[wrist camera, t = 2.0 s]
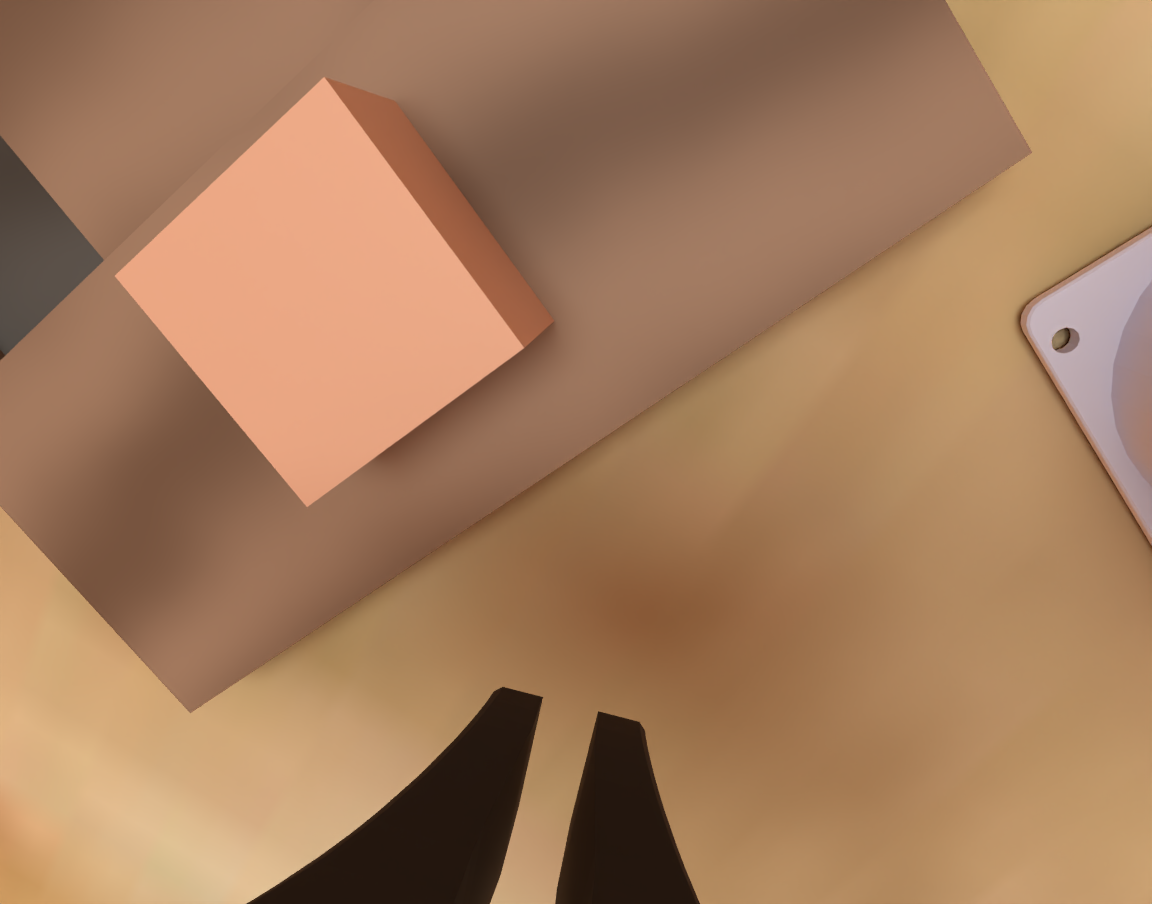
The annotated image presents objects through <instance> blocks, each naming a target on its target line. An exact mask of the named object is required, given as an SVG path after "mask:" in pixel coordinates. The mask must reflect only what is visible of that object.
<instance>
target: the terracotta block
mask: <svg viewBox="0 0 1152 904" xmlns="http://www.w3.org/2000/svg"><path fill="white" fill-rule="evenodd" d="M115 277H116V278H117V279H118V281H119V282H120V283H121V284H122V285H123V287H124V288H125V289H126V290H127V291H128V293H129V294H130V295H131V296H132V297H133V299H134V300H135V301H136V302H137V303H138V305H139V306H140V307H141V308H142V309H143V311H144V312H145V313H146V314H147V315H148V317H149V318H150V319H151V320H152V321H153V323H154V324H155V325H156V326H157V327H158V329H159V330H160V331H161V332H162V333H163V335H164V336H165V337H166V338H167V340H168V341H169V342H170V343H171V344H172V346H173V347H174V348H175V349H176V350H177V352H178V353H179V354H180V355H181V356H182V358H183V359H184V360H185V361H186V362H187V364H188V365H189V366H190V367H191V368H192V370H193V371H194V372H195V373H196V374H197V376H198V377H199V378H200V379H201V380H202V382H203V383H204V384H205V385H206V386H207V388H208V389H209V390H210V391H211V392H212V394H213V395H214V396H215V397H216V398H217V400H218V401H219V402H220V403H221V404H222V406H223V407H224V408H225V409H226V410H227V412H228V413H229V414H230V415H231V416H232V418H233V419H234V420H235V421H236V422H237V424H238V425H239V426H240V427H241V428H242V430H243V431H244V432H245V433H246V434H247V436H248V437H249V438H250V439H251V440H252V442H253V443H254V444H255V445H256V446H257V448H258V449H259V450H260V451H261V452H262V454H263V455H264V456H265V457H266V458H267V460H268V461H269V462H270V463H271V464H272V466H273V467H274V468H275V469H276V470H277V472H278V473H279V474H280V475H281V476H282V478H283V479H284V480H285V481H286V482H287V484H288V485H289V486H290V487H291V488H292V490H293V491H294V492H295V493H296V495H297V496H298V497H299V498H300V499H301V501H302V502H303V503H304V504H305V505H306V507H308V506H309V505H311V504H312V503H314V502H315V501H316V500H318V499H319V498H320V497H322V496H323V495H324V494H326V493H327V492H329V491H330V490H331V489H333V488H334V487H335V486H337V485H338V484H339V483H341V482H342V481H344V480H345V479H346V478H348V477H349V476H350V475H352V474H353V473H354V472H356V471H357V470H359V469H360V468H361V467H363V466H364V465H365V464H367V463H368V462H369V461H371V460H372V459H374V458H375V457H376V456H378V455H379V454H380V453H382V452H383V451H385V450H386V449H387V448H389V447H390V446H391V445H393V444H394V443H395V442H397V441H398V440H400V439H401V438H402V437H404V436H405V435H406V434H408V433H409V432H410V431H412V430H413V429H415V428H416V427H417V426H419V425H420V424H421V423H423V422H424V421H425V420H427V419H428V418H430V417H431V416H432V415H434V414H435V413H436V412H438V411H439V410H440V409H442V408H443V407H445V406H446V405H447V404H449V403H450V402H451V401H453V400H454V399H455V398H457V397H458V396H460V395H461V394H462V393H464V392H465V391H466V390H468V389H469V388H470V387H472V386H473V385H475V384H476V383H477V382H479V381H480V380H481V379H483V378H484V377H486V376H487V375H488V374H490V373H491V372H492V371H494V370H495V369H496V368H498V367H499V366H501V365H502V364H503V363H505V362H506V361H507V360H509V359H510V358H511V357H513V356H514V355H516V354H517V353H518V352H520V351H521V350H522V349H524V348H525V347H526V346H527V345H528V344H529V343H530V342H532V341H533V340H534V339H535V338H536V337H537V336H538V335H539V334H540V333H541V332H543V331H544V330H545V329H546V328H547V327H548V326H549V325H550V324H551V323H553V322H554V320H553V318H552V317H551V316H550V314H549V313H548V311H547V310H546V309H545V307H544V306H543V304H542V303H541V302H540V300H539V299H538V298H537V296H536V295H535V293H534V292H533V291H532V289H531V288H530V287H529V285H528V284H527V282H526V281H525V280H524V278H523V277H522V276H521V274H520V273H519V271H518V270H517V269H516V267H515V266H514V264H513V263H512V262H511V260H510V259H509V258H508V256H507V255H506V253H505V252H504V251H503V249H502V248H501V247H500V245H499V244H498V242H497V241H496V240H495V238H494V237H493V236H492V234H491V233H490V231H489V230H488V229H487V227H486V226H485V224H484V223H483V222H482V220H481V219H480V218H479V216H478V215H477V213H476V212H475V211H474V209H473V208H472V207H471V205H470V204H469V202H468V201H467V200H466V198H465V197H464V195H463V194H462V193H461V191H460V190H459V189H458V187H457V186H456V184H455V183H454V182H453V180H452V179H451V178H450V176H449V175H448V173H447V172H446V171H445V169H444V168H443V167H442V165H441V164H440V162H439V161H438V160H437V158H436V157H435V155H434V154H433V153H432V151H431V150H430V149H429V147H428V146H427V144H426V143H425V142H424V140H423V139H422V138H421V136H420V135H419V133H418V132H417V131H416V129H415V128H414V127H413V125H412V124H411V122H410V121H409V120H408V118H407V117H406V115H405V114H404V113H403V111H402V110H401V109H400V107H399V106H398V104H397V103H396V102H395V101H394V100H391V99H388V98H385V97H382V96H379V95H376V94H373V93H370V92H367V91H364V90H361V89H358V88H355V87H353V86H350V85H347V84H344V83H341V82H338V81H335V80H332V79H329V78H326V77H324V78H322V79H321V80H320V81H319V82H318V83H317V84H316V85H315V86H314V87H313V88H312V89H311V90H310V91H309V92H308V93H307V94H306V95H305V96H304V97H302V98H301V99H300V100H299V101H298V102H297V103H296V104H295V105H294V106H293V107H292V108H291V109H290V110H289V111H288V112H287V113H286V114H285V115H284V116H282V117H281V118H280V119H279V120H278V121H277V122H276V123H275V124H274V125H273V126H272V127H271V128H270V129H269V130H268V131H267V132H266V133H265V134H263V135H262V136H261V137H260V138H259V139H258V140H257V141H256V142H255V143H254V144H253V145H252V146H251V147H250V148H249V149H248V150H247V151H246V152H245V153H243V154H242V155H241V156H240V157H239V158H238V159H237V160H236V161H235V162H234V163H233V164H232V165H231V166H230V167H229V168H228V169H227V170H226V171H225V172H223V173H222V174H221V175H220V176H219V177H218V178H217V179H216V180H215V181H214V182H213V183H212V184H211V185H210V186H209V187H208V188H207V189H206V190H205V191H203V192H202V193H201V194H200V195H199V196H198V197H197V198H196V199H195V200H194V201H193V202H192V203H191V204H190V205H189V206H188V207H187V208H186V209H184V210H183V211H182V212H181V213H180V214H179V215H178V216H177V217H176V218H175V219H174V220H173V221H172V222H171V223H170V224H169V225H168V226H167V227H166V228H164V229H163V230H162V231H161V232H160V233H159V234H158V235H157V236H156V237H155V238H154V239H153V240H152V241H151V242H150V243H149V244H148V245H147V246H146V247H144V248H143V249H142V250H141V251H140V252H139V253H138V254H137V255H136V256H135V257H134V258H133V259H132V260H131V261H130V262H129V263H128V264H127V265H126V266H124V267H123V268H122V269H121V270H120V271H119V272H118V273H117V274H116V275H115Z"/></svg>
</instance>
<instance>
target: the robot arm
mask: <svg viewBox="0 0 1152 904" xmlns="http://www.w3.org/2000/svg"><path fill="white" fill-rule="evenodd" d="M1020 324H1021V327H1022V330H1023V332H1024V334H1025V336H1026V337H1027V339H1028V341H1029V342H1030V344H1031V346H1032V347H1033V349H1034V351H1035V352H1036V354H1037V356H1038V357H1039V359H1040V361H1041V362H1042V364H1043V366H1044V367H1045V369H1046V371H1047V372H1048V374H1049V376H1050V377H1051V379H1052V381H1053V382H1054V384H1055V386H1056V387H1057V389H1058V391H1059V392H1060V394H1061V396H1062V397H1063V399H1064V401H1065V402H1066V404H1067V406H1068V407H1069V409H1070V411H1071V412H1072V414H1073V416H1074V417H1075V419H1076V421H1077V422H1078V424H1079V426H1080V427H1081V429H1082V431H1083V432H1084V434H1085V436H1086V437H1087V439H1088V441H1089V442H1090V444H1091V446H1092V447H1093V449H1094V451H1095V452H1096V454H1097V456H1098V457H1099V459H1100V461H1101V462H1102V464H1103V466H1104V467H1105V469H1106V471H1107V472H1108V474H1109V476H1110V477H1111V479H1112V480H1113V482H1114V484H1115V485H1116V487H1117V489H1118V490H1119V492H1120V494H1121V495H1122V497H1123V499H1124V500H1125V502H1126V504H1127V505H1128V507H1129V509H1130V510H1131V512H1132V514H1133V515H1134V517H1135V519H1136V520H1137V522H1138V524H1139V525H1140V527H1141V529H1142V530H1143V532H1144V534H1145V535H1146V537H1147V539H1148V540H1149V542H1150V544H1151V545H1152V227H1151V228H1149V229H1147V230H1146V231H1144V232H1143V233H1141V234H1139V235H1138V236H1136V237H1134V238H1133V239H1131V240H1129V241H1128V242H1126V243H1124V244H1123V245H1121V246H1120V247H1118V248H1116V249H1115V250H1113V251H1111V252H1110V253H1108V254H1106V255H1105V256H1103V257H1102V258H1100V259H1098V260H1097V261H1095V262H1093V263H1092V264H1090V265H1088V266H1087V267H1085V268H1083V269H1082V270H1080V271H1079V272H1077V273H1075V274H1074V275H1072V276H1070V277H1069V278H1067V279H1065V280H1064V281H1062V282H1061V283H1059V284H1057V285H1056V286H1054V287H1052V288H1051V289H1049V290H1047V291H1046V292H1044V293H1042V294H1041V295H1039V296H1038V297H1036V298H1034V299H1033V300H1032V301H1031V302H1030V303H1029V304H1027V305H1026V307H1025V309H1024V311H1023V313H1022V315H1021V323H1020ZM1066 327H1067V328H1068V329H1069V330H1070V335H1071V337H1070V340H1069V343H1068V344H1067V345H1065V346H1064V347H1063V348H1061V349H1058V350H1054V349H1053V347H1052V343H1051V341H1052V338H1053V335H1054V334H1055V333H1056V332H1057V331H1058V330H1060V329H1063V328H1066ZM542 698H543V697H540V696H536V695H532V694H528V693H524V692H520V691H517V690H513V689H509V688H505V687H502V688H500V689H498V690H496V691H494V692H493V694H492V695H491V696H490V698H489V699H488V701H487V702H486V703H485V705H484V706H483V707H482V709H481V710H480V711H479V712H478V714H477V715H476V716H475V717H474V718H473V720H472V721H471V722H470V723H469V724H468V725H467V727H466V728H465V729H464V730H463V731H462V732H461V733H460V734H459V735H458V737H457V738H456V739H455V740H454V741H453V742H452V743H451V744H450V745H449V746H448V747H447V748H446V749H445V750H444V751H443V752H442V753H441V754H440V755H439V756H438V757H437V758H436V759H435V760H434V761H433V762H432V763H431V764H430V765H429V766H428V767H427V768H426V769H425V770H424V771H423V772H422V773H421V774H420V775H419V776H418V777H417V778H416V779H415V780H413V781H412V782H411V783H410V784H409V785H408V786H407V787H406V788H404V789H403V790H402V791H401V792H400V793H399V794H398V795H397V796H395V797H394V798H393V799H392V800H391V801H390V802H389V803H388V804H386V805H385V806H384V807H383V808H382V809H381V810H380V811H378V812H377V813H376V814H375V815H373V816H372V817H371V818H370V819H369V820H367V821H366V822H365V823H364V824H362V825H361V826H360V827H359V828H357V829H356V830H355V831H353V832H352V833H351V834H350V835H348V836H347V837H346V838H344V839H343V840H341V841H340V842H339V843H337V844H336V845H335V846H333V847H332V848H331V849H329V850H328V851H327V852H325V853H324V854H322V855H321V856H320V857H318V858H317V859H315V860H314V861H312V862H311V863H309V864H308V865H306V866H305V867H303V868H302V869H300V870H299V871H297V872H296V873H294V874H293V875H291V876H290V877H288V878H287V879H285V880H284V881H282V882H281V883H279V884H278V885H276V886H275V887H273V888H271V889H270V890H268V891H267V892H265V893H263V894H262V895H260V896H259V897H257V898H255V899H254V900H252V901H250V902H249V903H247V904H490V902H491V899H492V896H493V894H494V891H495V888H496V885H497V883H498V880H499V877H500V875H501V871H502V867H503V863H504V860H505V856H506V852H507V848H508V845H509V841H510V837H511V833H512V830H513V826H514V822H515V818H516V814H517V811H518V807H519V802H520V798H521V793H522V789H523V784H524V780H525V775H526V771H527V766H528V762H529V757H530V753H531V748H532V744H533V739H534V735H535V730H536V725H537V721H538V716H539V712H540V707H541V703H542ZM555 904H700V903H699V901H698V898H697V896H696V893H695V891H694V889H693V886H692V884H691V881H690V879H689V877H688V874H687V872H686V869H685V867H684V864H683V861H682V859H681V856H680V854H679V851H678V848H677V846H676V843H675V840H674V837H673V834H672V831H671V828H670V825H669V822H668V820H667V817H666V814H665V811H664V808H663V804H662V801H661V798H660V795H659V791H658V788H657V784H656V780H655V777H654V773H653V769H652V765H651V761H650V757H649V752H648V747H647V742H646V736H645V730H644V729H643V727H642V725H641V724H640V722H637V721H633V720H629V719H625V718H622V717H618V716H614V715H610V714H606V713H602V712H598V715H597V719H596V723H595V727H594V731H593V735H592V739H591V743H590V747H589V751H588V754H587V758H586V762H585V766H584V770H583V774H582V778H581V782H580V786H579V790H578V794H577V798H576V802H575V806H574V810H573V814H572V818H571V823H570V827H569V832H568V837H567V842H566V847H565V852H564V857H563V862H562V867H561V872H560V877H559V882H558V887H557V893H556V903H555Z"/></svg>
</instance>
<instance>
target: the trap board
mask: <svg viewBox="0 0 1152 904" xmlns="http://www.w3.org/2000/svg"><path fill="white" fill-rule="evenodd" d="M324 77H326V78H329V79H332V80H335V81H338V82H341V83H344V84H347V85H350V86H353V87H355V88H358V89H361V90H364V91H367V92H370V93H373V94H376V95H379V96H382V97H385V98H388V99H391V100H394V101H395V102H396V103H397V104H398V106H399V107H400V109H401V110H402V111H403V113H404V114H405V115H406V117H407V118H408V120H409V121H410V122H411V124H412V125H413V127H414V128H415V129H416V131H417V132H418V133H419V135H420V136H421V138H422V139H423V140H424V142H425V143H426V144H427V146H428V147H429V149H430V150H431V151H432V153H433V154H434V155H435V157H436V158H437V160H438V161H439V162H440V164H441V165H442V167H443V168H444V169H445V171H446V172H447V173H448V175H449V176H450V178H451V179H452V180H453V182H454V183H455V184H456V186H457V187H458V189H459V190H460V191H461V193H462V194H463V195H464V197H465V198H466V200H467V201H468V202H469V204H470V205H471V207H472V208H473V209H474V211H475V212H476V213H477V215H478V216H479V218H480V219H481V220H482V222H483V223H484V224H485V226H486V227H487V229H488V230H489V231H490V233H491V234H492V236H493V237H494V238H495V240H496V241H497V242H498V244H499V245H500V247H501V248H502V249H503V251H504V252H505V253H506V255H507V256H508V258H509V259H510V260H511V262H512V263H513V264H514V266H515V267H516V269H517V270H518V271H519V273H520V274H521V276H522V277H523V278H524V280H525V281H526V282H527V284H528V285H529V287H530V288H531V289H532V291H533V292H534V293H535V295H536V296H537V298H538V299H539V300H540V302H541V303H542V304H543V306H544V307H545V309H546V310H547V311H548V313H549V314H550V316H551V317H552V318H553V320H554V322H553V323H551V324H550V325H549V326H548V327H547V328H546V329H545V330H544V331H543V332H541V333H540V334H539V335H538V336H537V337H536V338H535V339H534V340H533V341H532V342H530V343H529V344H528V345H527V346H526V347H525V348H524V349H522V350H521V351H520V352H518V353H517V354H516V355H514V356H513V357H511V358H510V359H509V360H507V361H506V362H505V363H503V364H502V365H501V366H499V367H498V368H496V369H495V370H494V371H492V372H491V373H490V374H488V375H487V376H486V377H484V378H483V379H481V380H480V381H479V382H477V383H476V384H475V385H473V386H472V387H470V388H469V389H468V390H466V391H465V392H464V393H462V394H461V395H460V396H458V397H457V398H455V399H454V400H453V401H451V402H450V403H449V404H447V405H446V406H445V407H443V408H442V409H440V410H439V411H438V412H436V413H435V414H434V415H432V416H431V417H430V418H428V419H427V420H425V421H424V422H423V423H421V424H420V425H419V426H417V427H416V428H415V429H413V430H412V431H410V432H409V433H408V434H406V435H405V436H404V437H402V438H401V439H400V440H398V441H397V442H395V443H394V444H393V445H391V446H390V447H389V448H387V449H386V450H385V451H383V452H382V453H380V454H379V455H378V456H376V457H375V458H374V459H372V460H371V461H369V462H368V463H367V464H365V465H364V466H363V467H361V468H360V469H359V470H357V471H356V472H354V473H353V474H352V475H350V476H349V477H348V478H346V479H345V480H344V481H342V482H341V483H339V484H338V485H337V486H335V487H334V488H333V489H331V490H330V491H329V492H327V493H326V494H324V495H323V496H322V497H320V498H319V499H318V500H316V501H315V502H314V503H312V504H311V505H309V506H308V507H306V505H305V504H304V503H303V502H302V501H301V499H300V498H299V497H298V496H297V495H296V493H295V492H294V491H293V490H292V488H291V487H290V486H289V485H288V484H287V482H286V481H285V480H284V479H283V478H282V476H281V475H280V474H279V473H278V472H277V470H276V469H275V468H274V467H273V466H272V464H271V463H270V462H269V461H268V460H267V458H266V457H265V456H264V455H263V454H262V452H261V451H260V450H259V449H258V448H257V446H256V445H255V444H254V443H253V442H252V440H251V439H250V438H249V437H248V436H247V434H246V433H245V432H244V431H243V430H242V428H241V427H240V426H239V425H238V424H237V422H236V421H235V420H234V419H233V418H232V416H231V415H230V414H229V413H228V412H227V410H226V409H225V408H224V407H223V406H222V404H221V403H220V402H219V401H218V400H217V398H216V397H215V396H214V395H213V394H212V392H211V391H210V390H209V389H208V388H207V386H206V385H205V384H204V383H203V382H202V380H201V379H200V378H199V377H198V376H197V374H196V373H195V372H194V371H193V370H192V368H191V367H190V366H189V365H188V364H187V362H186V361H185V360H184V359H183V358H182V356H181V355H180V354H179V353H178V352H177V350H176V349H175V348H174V347H173V346H172V344H171V343H170V342H169V341H168V340H167V338H166V337H165V336H164V335H163V333H162V332H161V331H160V330H159V329H158V327H157V326H156V325H155V324H154V323H153V321H152V320H151V319H150V318H149V317H148V315H147V314H146V313H145V312H144V311H143V309H142V308H141V307H140V306H139V305H138V303H137V302H136V301H135V300H134V299H133V297H132V296H131V295H130V294H129V293H128V291H127V290H126V289H125V288H124V287H123V285H122V284H121V283H120V282H119V281H118V279H117V278H116V277H115V275H116V274H117V273H118V272H119V271H120V270H121V269H122V268H123V267H124V266H126V265H127V264H128V263H129V262H130V261H131V260H132V259H133V258H134V257H135V256H136V255H137V254H138V253H139V252H140V251H141V250H142V249H143V248H144V247H146V246H147V245H148V244H149V243H150V242H151V241H152V240H153V239H154V238H155V237H156V236H157V235H158V234H159V233H160V232H161V231H162V230H163V229H164V228H166V227H167V226H168V225H169V224H170V223H171V222H172V221H173V220H174V219H175V218H176V217H177V216H178V215H179V214H180V213H181V212H182V211H183V210H184V209H186V208H187V207H188V206H189V205H190V204H191V203H192V202H193V201H194V200H195V199H196V198H197V197H198V196H199V195H200V194H201V193H202V192H203V191H205V190H206V189H207V188H208V187H209V186H210V185H211V184H212V183H213V182H214V181H215V180H216V179H217V178H218V177H219V176H220V175H221V174H222V173H223V172H225V171H226V170H227V169H228V168H229V167H230V166H231V165H232V164H233V163H234V162H235V161H236V160H237V159H238V158H239V157H240V156H241V155H242V154H243V153H245V152H246V151H247V150H248V149H249V148H250V147H251V146H252V145H253V144H254V143H255V142H256V141H257V140H258V139H259V138H260V137H261V136H262V135H263V134H265V133H266V132H267V131H268V130H269V129H270V128H271V127H272V126H273V125H274V124H275V123H276V122H277V121H278V120H279V119H280V118H281V117H282V116H284V115H285V114H286V113H287V112H288V111H289V110H290V109H291V108H292V107H293V106H294V105H295V104H296V103H297V102H298V101H299V100H300V99H301V98H302V97H304V96H305V95H306V94H307V93H308V92H309V91H310V90H311V89H312V88H313V87H314V86H315V85H316V84H317V83H318V82H319V81H320V80H321V79H322V78H324ZM1031 153H1032V151H1031V150H1030V148H1029V146H1028V144H1027V143H1026V141H1025V139H1024V137H1023V136H1022V134H1021V132H1020V130H1019V129H1018V127H1017V125H1016V123H1015V122H1014V120H1013V118H1012V116H1011V115H1010V113H1009V111H1008V109H1007V108H1006V106H1005V104H1004V102H1003V101H1002V99H1001V97H1000V95H999V94H998V92H997V90H996V88H995V87H994V85H993V83H992V81H991V80H990V78H989V76H988V74H987V73H986V71H985V69H984V67H983V66H982V64H981V62H980V60H979V59H978V57H977V55H976V53H975V52H974V50H973V48H972V46H971V45H970V43H969V41H968V39H967V38H966V36H965V34H964V32H963V31H962V29H961V27H960V25H959V24H958V22H957V20H956V18H955V17H954V15H953V13H952V11H951V10H950V8H949V6H948V4H947V3H946V1H945V0H0V506H1V507H2V509H3V510H4V511H5V512H6V513H7V514H8V515H9V516H10V517H11V518H12V519H13V521H14V522H15V523H16V524H17V525H18V526H19V527H20V528H21V529H22V530H23V531H24V532H25V534H26V535H27V536H28V537H29V538H30V539H31V540H32V541H33V542H34V543H35V544H36V546H37V547H38V548H39V549H40V550H41V551H42V552H43V553H44V554H45V555H46V556H47V558H48V559H49V560H50V561H51V562H52V563H53V564H54V565H55V566H56V567H57V568H58V570H59V571H60V572H61V573H62V574H63V575H64V576H65V577H66V578H67V579H68V580H69V582H70V583H71V584H72V585H73V586H74V587H75V588H76V589H77V590H78V591H79V592H80V593H81V595H82V596H83V597H84V598H85V599H86V600H87V601H88V602H89V603H90V604H91V605H92V607H93V608H94V609H95V610H96V611H97V612H98V613H99V614H100V615H101V616H102V617H103V619H104V620H105V621H106V622H107V623H108V624H109V625H110V626H111V627H112V628H113V629H114V631H115V632H116V633H117V634H118V635H119V636H120V637H121V638H122V639H123V640H124V641H125V642H126V644H127V645H128V646H129V647H130V648H131V649H132V650H133V651H134V652H135V653H136V654H137V656H138V657H139V658H140V659H141V660H142V661H143V662H144V663H145V664H146V665H147V666H148V668H149V669H150V670H151V671H152V672H153V673H154V674H155V675H156V676H157V677H158V678H159V680H160V681H161V682H162V683H163V684H164V685H165V686H166V687H167V688H168V689H169V690H170V692H171V693H172V694H173V695H174V696H175V697H176V698H177V699H178V700H179V701H180V702H181V703H182V705H183V706H184V707H185V708H186V709H187V710H188V711H189V712H190V713H191V712H193V711H194V710H196V709H197V708H199V707H200V706H202V705H203V704H205V703H206V702H208V701H209V700H211V699H212V698H214V697H215V696H217V695H218V694H220V693H221V692H223V691H224V690H226V689H227V688H229V687H230V686H232V685H233V684H235V683H236V682H238V681H239V680H241V679H242V678H244V677H245V676H247V675H248V674H250V673H251V672H253V671H254V670H256V669H257V668H259V667H260V666H262V665H263V664H265V663H266V662H268V661H269V660H271V659H272V658H274V657H275V656H277V655H278V654H280V653H281V652H283V651H284V650H286V649H287V648H289V647H290V646H292V645H293V644H295V643H296V642H298V641H299V640H301V639H302V638H304V637H305V636H307V635H308V634H310V633H311V632H313V631H314V630H316V629H317V628H319V627H320V626H322V625H323V624H325V623H326V622H328V621H329V620H331V619H332V618H334V617H335V616H337V615H338V614H340V613H341V612H343V611H344V610H346V609H347V608H349V607H350V606H352V605H353V604H355V603H356V602H358V601H359V600H361V599H362V598H364V597H365V596H367V595H368V594H370V593H371V592H373V591H374V590H376V589H377V588H379V587H380V586H382V585H383V584H385V583H386V582H388V581H389V580H391V579H392V578H394V577H395V576H397V575H398V574H400V573H401V572H403V571H404V570H406V569H407V568H409V567H410V566H412V565H413V564H415V563H416V562H418V561H419V560H421V559H422V558H424V557H425V556H427V555H428V554H430V553H431V552H433V551H434V550H436V549H437V548H439V547H440V546H442V545H443V544H445V543H446V542H448V541H449V540H451V539H452V538H454V537H455V536H457V535H458V534H460V533H462V532H463V531H465V530H466V529H468V528H469V527H471V526H472V525H474V524H475V523H477V522H478V521H480V520H481V519H483V518H484V517H486V516H487V515H489V514H490V513H492V512H493V511H495V510H496V509H498V508H499V507H501V506H502V505H504V504H505V503H507V502H508V501H510V500H511V499H513V498H514V497H516V496H517V495H519V494H520V493H522V492H523V491H525V490H526V489H528V488H529V487H531V486H532V485H534V484H535V483H537V482H538V481H540V480H541V479H543V478H544V477H546V476H547V475H549V474H550V473H552V472H553V471H555V470H556V469H558V468H559V467H561V466H562V465H564V464H565V463H567V462H568V461H570V460H571V459H573V458H574V457H576V456H577V455H579V454H580V453H582V452H583V451H585V450H586V449H588V448H589V447H591V446H592V445H594V444H595V443H597V442H598V441H600V440H601V439H603V438H604V437H606V436H607V435H609V434H610V433H612V432H613V431H615V430H616V429H618V428H619V427H621V426H622V425H624V424H625V423H627V422H628V421H630V420H631V419H633V418H634V417H636V416H637V415H639V414H640V413H642V412H643V411H645V410H646V409H648V408H649V407H651V406H652V405H654V404H655V403H657V402H658V401H660V400H661V399H663V398H664V397H666V396H667V395H669V394H670V393H672V392H673V391H675V390H676V389H678V388H679V387H681V386H682V385H684V384H685V383H687V382H688V381H690V380H691V379H693V378H694V377H696V376H697V375H699V374H700V373H702V372H703V371H705V370H706V369H708V368H709V367H711V366H712V365H714V364H715V363H717V362H718V361H720V360H721V359H723V358H724V357H726V356H727V355H729V354H730V353H732V352H733V351H735V350H736V349H738V348H739V347H741V346H742V345H744V344H745V343H747V342H748V341H750V340H751V339H753V338H754V337H756V336H757V335H759V334H760V333H762V332H763V331H765V330H766V329H768V328H769V327H771V326H772V325H774V324H775V323H777V322H778V321H780V320H781V319H783V318H784V317H786V316H787V315H789V314H790V313H792V312H793V311H795V310H797V309H798V308H800V307H801V306H803V305H804V304H806V303H807V302H809V301H810V300H812V299H813V298H815V297H816V296H818V295H819V294H821V293H822V292H824V291H825V290H827V289H828V288H830V287H831V286H833V285H834V284H836V283H837V282H839V281H840V280H842V279H843V278H845V277H846V276H848V275H849V274H851V273H852V272H854V271H855V270H857V269H858V268H860V267H861V266H863V265H864V264H866V263H867V262H869V261H870V260H872V259H873V258H875V257H876V256H878V255H879V254H881V253H882V252H884V251H885V250H887V249H888V248H890V247H891V246H893V245H894V244H896V243H897V242H899V241H900V240H902V239H903V238H905V237H906V236H908V235H909V234H911V233H912V232H914V231H915V230H917V229H918V228H920V227H921V226H923V225H924V224H926V223H927V222H929V221H930V220H932V219H933V218H935V217H936V216H938V215H939V214H941V213H942V212H944V211H945V210H947V209H948V208H950V207H951V206H953V205H954V204H956V203H957V202H959V201H960V200H962V199H963V198H965V197H966V196H968V195H969V194H971V193H972V192H974V191H975V190H977V189H978V188H980V187H981V186H983V185H984V184H986V183H987V182H989V181H990V180H992V179H993V178H995V177H996V176H998V175H999V174H1001V173H1002V172H1004V171H1005V170H1007V169H1008V168H1010V167H1011V166H1013V165H1014V164H1016V163H1017V162H1019V161H1020V160H1022V159H1023V158H1025V157H1026V156H1028V155H1029V154H1031Z"/></svg>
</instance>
